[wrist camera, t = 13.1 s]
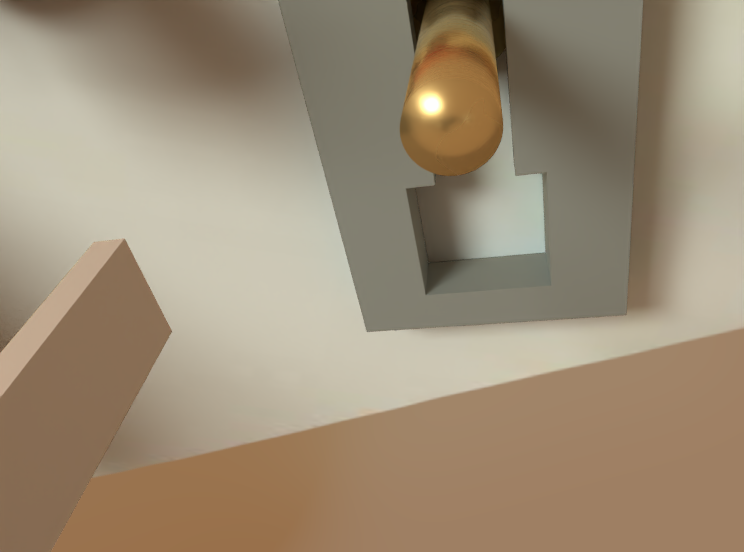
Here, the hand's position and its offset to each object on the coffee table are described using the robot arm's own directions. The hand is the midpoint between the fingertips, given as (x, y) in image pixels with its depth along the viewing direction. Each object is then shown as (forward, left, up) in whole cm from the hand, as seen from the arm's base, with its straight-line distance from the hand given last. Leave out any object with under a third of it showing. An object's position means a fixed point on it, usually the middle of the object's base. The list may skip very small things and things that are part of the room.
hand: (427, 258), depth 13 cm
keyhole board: (0, -5, -21) cm, 21 cm away
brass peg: (0, 0, -21) cm, 21 cm away
